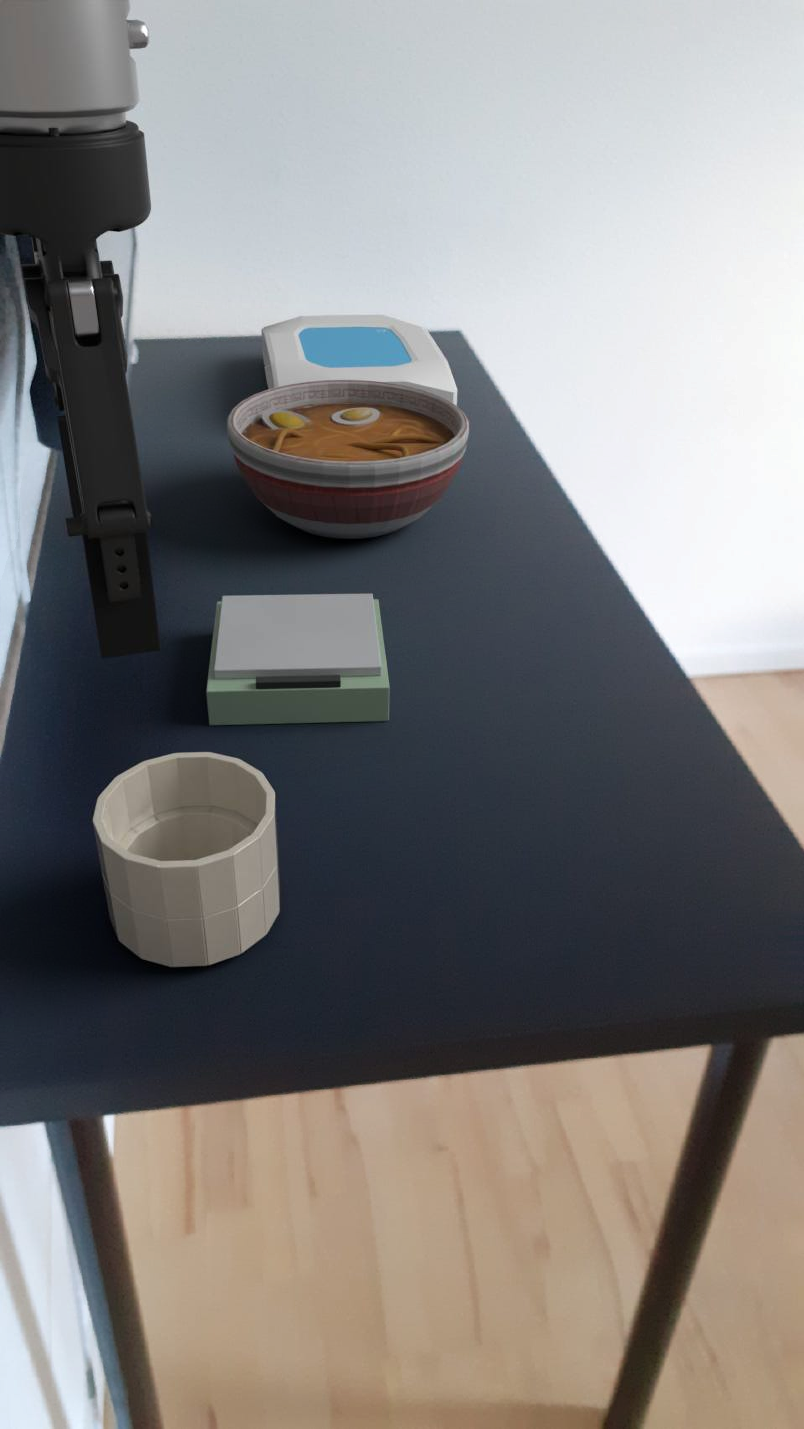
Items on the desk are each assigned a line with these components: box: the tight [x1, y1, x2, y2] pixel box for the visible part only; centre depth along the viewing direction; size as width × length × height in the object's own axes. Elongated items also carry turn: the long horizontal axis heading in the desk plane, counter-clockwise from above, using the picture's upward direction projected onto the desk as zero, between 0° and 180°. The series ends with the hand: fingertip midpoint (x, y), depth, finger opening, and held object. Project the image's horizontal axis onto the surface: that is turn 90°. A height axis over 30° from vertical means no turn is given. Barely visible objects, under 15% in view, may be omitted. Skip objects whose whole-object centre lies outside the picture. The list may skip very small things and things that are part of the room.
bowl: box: [226, 380, 470, 540], centre depth 105 cm, size 23×23×10 cm
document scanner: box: [261, 314, 458, 407], centre depth 135 cm, size 21×28×6 cm
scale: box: [205, 593, 391, 726], centre depth 83 cm, size 13×13×4 cm
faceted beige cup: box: [92, 751, 281, 968], centre depth 61 cm, size 10×10×8 cm
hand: (114, 584), depth 56 cm, fingers open, 13 cm apart
